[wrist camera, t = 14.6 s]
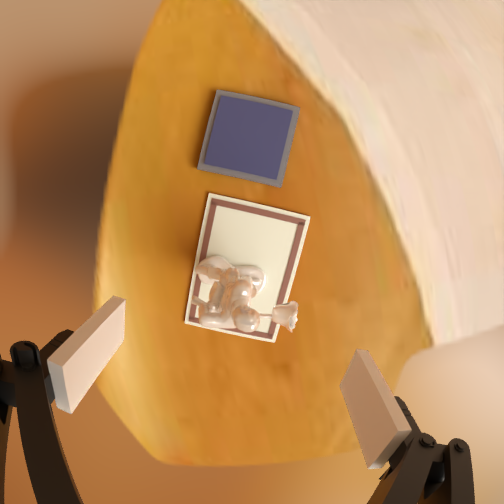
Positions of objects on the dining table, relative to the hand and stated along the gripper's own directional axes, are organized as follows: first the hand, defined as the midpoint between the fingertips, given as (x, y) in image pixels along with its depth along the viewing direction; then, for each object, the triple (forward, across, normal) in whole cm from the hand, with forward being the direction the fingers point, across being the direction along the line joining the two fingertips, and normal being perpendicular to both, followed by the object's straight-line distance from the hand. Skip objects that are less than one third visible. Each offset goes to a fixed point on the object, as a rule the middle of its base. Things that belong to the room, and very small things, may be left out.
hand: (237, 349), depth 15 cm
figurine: (+15, 0, -1) cm, 15 cm away
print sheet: (+15, 0, -1) cm, 15 cm away
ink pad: (+15, -3, +12) cm, 20 cm away
